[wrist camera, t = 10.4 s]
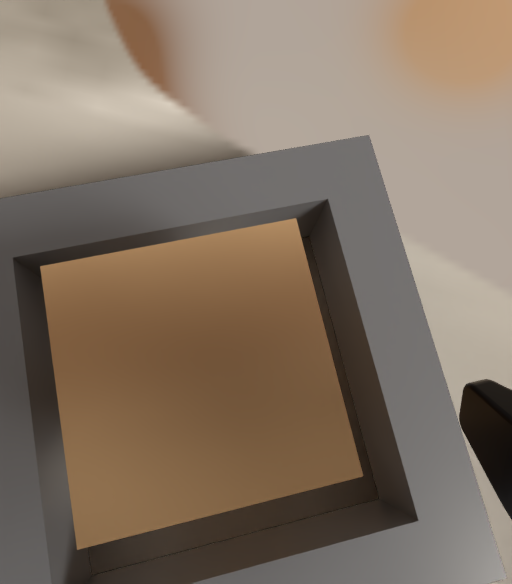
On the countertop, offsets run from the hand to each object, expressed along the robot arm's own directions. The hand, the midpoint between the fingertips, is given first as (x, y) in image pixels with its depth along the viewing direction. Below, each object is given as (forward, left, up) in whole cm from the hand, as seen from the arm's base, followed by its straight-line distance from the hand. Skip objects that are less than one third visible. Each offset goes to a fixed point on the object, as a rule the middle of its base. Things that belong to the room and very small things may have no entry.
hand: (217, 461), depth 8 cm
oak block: (+2, 0, -9) cm, 10 cm away
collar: (+2, 0, -9) cm, 9 cm away
